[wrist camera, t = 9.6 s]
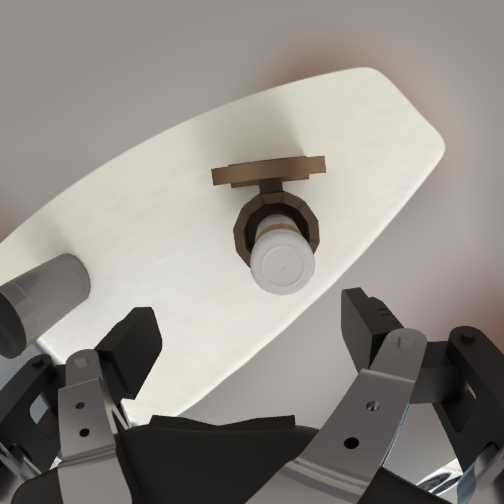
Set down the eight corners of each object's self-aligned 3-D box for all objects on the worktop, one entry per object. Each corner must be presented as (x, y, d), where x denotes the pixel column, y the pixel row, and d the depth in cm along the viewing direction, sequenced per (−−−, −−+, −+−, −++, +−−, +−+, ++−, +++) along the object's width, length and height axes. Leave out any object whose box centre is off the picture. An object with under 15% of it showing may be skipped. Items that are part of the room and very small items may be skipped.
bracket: (242, 256, 38) (230, 291, 27) (229, 165, 35) (210, 161, 23) (314, 248, 37) (333, 280, 26) (305, 156, 34) (323, 147, 23)
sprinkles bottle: (259, 249, 33) (252, 299, 20) (255, 210, 31) (245, 237, 18) (297, 246, 32) (316, 294, 19) (295, 207, 31) (314, 231, 18)
